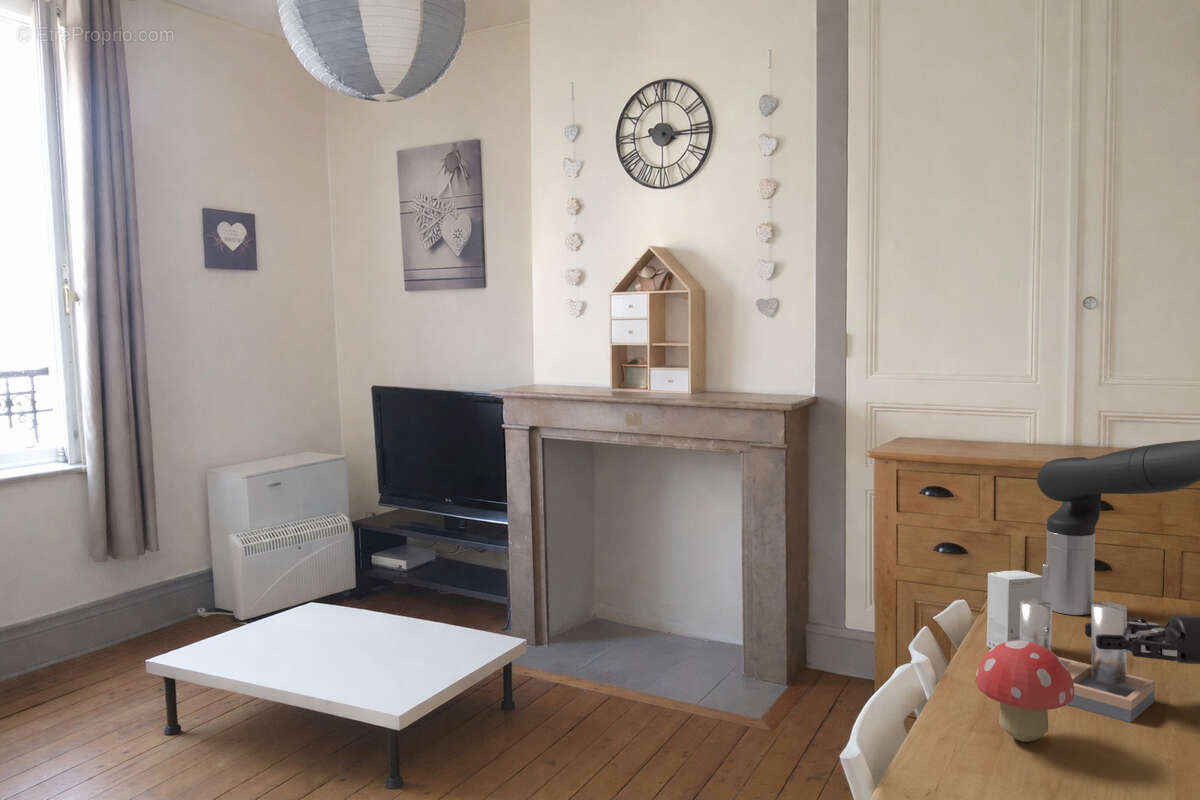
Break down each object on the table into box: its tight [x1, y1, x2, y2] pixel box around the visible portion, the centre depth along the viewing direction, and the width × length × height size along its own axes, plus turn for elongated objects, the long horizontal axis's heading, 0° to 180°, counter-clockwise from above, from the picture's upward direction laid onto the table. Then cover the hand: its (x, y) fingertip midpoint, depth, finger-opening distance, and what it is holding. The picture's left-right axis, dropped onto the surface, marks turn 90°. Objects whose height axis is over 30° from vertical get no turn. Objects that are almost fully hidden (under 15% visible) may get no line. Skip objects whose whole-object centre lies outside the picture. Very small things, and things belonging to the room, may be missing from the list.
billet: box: [1090, 601, 1128, 684], centre depth 143 cm, size 5×5×12 cm
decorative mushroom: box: [974, 640, 1074, 743], centre depth 131 cm, size 13×13×15 cm
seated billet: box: [1020, 599, 1053, 652], centre depth 152 cm, size 5×5×12 cm
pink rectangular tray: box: [1057, 656, 1156, 724], centre depth 148 cm, size 22×11×4 cm, turn 41°
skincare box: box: [986, 569, 1043, 650], centre depth 167 cm, size 8×6×15 cm
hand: (1091, 635), depth 143 cm, fingers closed on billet, 5 cm apart
